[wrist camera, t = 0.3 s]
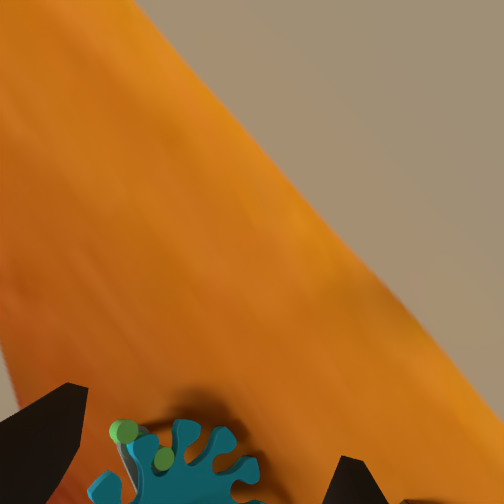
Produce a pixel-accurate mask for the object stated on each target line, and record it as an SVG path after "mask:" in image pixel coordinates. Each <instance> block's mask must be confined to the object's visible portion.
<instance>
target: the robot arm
mask: <svg viewBox="0 0 504 504" xmlns="http://www.w3.org/2000/svg"><path fill="white" fill-rule="evenodd" d="M87 394H88V388H87V387H83V386H79V385H75V384H72V383H68V382H67V383H65V384H63V385H61V386H60V387H58V388H56V389H55V390H53V391H51V392H50V393H48V394H47V395H45V396H43V397H42V398H40V399H38V400H37V401H35V402H34V403H32V404H30V405H29V406H27V407H25V408H24V409H22V410H20V411H19V412H17V413H15V414H14V415H12V416H10V417H9V418H7V419H5V420H3V421H2V422H0V504H46V502H47V501H48V499H49V498H50V496H51V495H52V494H53V492H54V491H55V489H56V488H57V486H58V485H59V483H60V481H61V479H62V478H63V476H64V474H65V472H66V471H67V469H68V467H69V465H70V463H71V461H72V460H73V458H74V456H75V454H76V452H77V450H78V449H79V447H80V440H81V434H82V427H83V421H84V414H85V407H86V401H87ZM322 504H389V503H388V502H387V500H386V498H385V497H384V495H383V493H382V492H381V490H380V488H379V487H378V485H377V483H376V482H375V480H374V478H373V477H372V475H371V473H370V472H369V470H368V468H367V467H366V465H365V463H364V462H363V461H361V460H357V459H353V458H350V457H346V456H342V455H341V458H340V460H339V463H338V465H337V468H336V470H335V473H334V475H333V478H332V480H331V483H330V485H329V488H328V490H327V493H326V495H325V498H324V500H323V503H322Z"/></svg>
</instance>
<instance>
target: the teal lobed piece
mask: <svg viewBox="0 0 504 504" xmlns="http://www.w3.org/2000/svg"><path fill="white" fill-rule="evenodd" d="M200 432H201V425H200V424H198V423H197V422H194V421H191V420H185V419H176V420H175V421H174V423H173V426H172V437H173V438H172V449H170V448H168V447H165V446H161V445H159V439H158V437H157V435H156V434H152V433H150V431H149V430H148V429H147V428H146V427H144V426H141V425H137V424H136V423H135V422H134V421H132V420H127V419H118V420H116V421H114V422H113V423H112V425H111V427H110V430H109V433H110V437H111V438H112V439H113V440H114V442H115V443H116V444H117V449H118V452H119V454H120V457H121V459H122V461H123V463H124V466H125V468H126V470H127V473H128V475H129V477H130V479H131V482H132V484H133V486H134V489H135V491H136V493H137V495H136V497H135V498H134V500H133V501H132V502H130V503H128V504H266V503H264V502H261V501H259V500H251V501H249V502H247V503H237V502H235V501H234V500H233V499H232V498H231V495H230V488H231V485H232V484H233V482H234V481H235V480H239V481H241V482H244V483H247V484H255V483H257V482H258V481H259V480H260V472H259V466H258V463H257V459H256V458H254V457H249V456H242V457H240V458H239V459H238V461H237V462H236V463H235V464H234V465H233V466H232V467H231V468H229V469H228V470H226V471H223V472H219V473H214V472H213V470H212V462H213V460H214V458H215V457H216V456H217V455H218V454H223V453H229V452H231V451H232V450H234V448H235V446H236V444H237V441H236V438H235V437H234V435H233V434H232V433H231V431H230V430H229V429H228V428H226V427H224V426H217V427H215V428H214V429H213V430H212V432H211V434H210V437H209V441H208V443H207V445H206V447H205V449H204V450H203V451H202V453H201V454H200V455H199V456H198V457H197V458H195V459H194V460H193V461H192V462H190V463H188V464H186V463H185V460H184V453H185V450H186V448H187V447H188V446H189V445H191V444H192V443H193V442H195V441H196V440H197V439H198V437H199V435H200ZM121 489H122V483H121V480H120V478H119V477H118V475H116V474H115V473H113V472H111V471H109V470H107V471H106V472H104V473H103V474H101V475H100V476H99V477H98V478H97V479H96V480H95V481H94V483H93V484H92V485H91V486H90V488H89V489H88V490H87V491H88V495H89V498H90V499H91V500H92V501H93V502H94V503H95V504H122V503H121Z"/></svg>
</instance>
